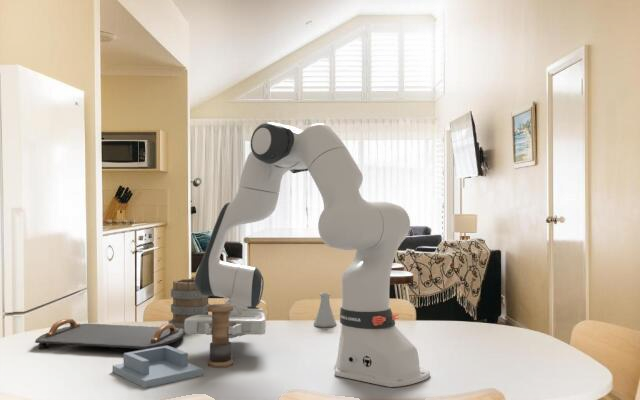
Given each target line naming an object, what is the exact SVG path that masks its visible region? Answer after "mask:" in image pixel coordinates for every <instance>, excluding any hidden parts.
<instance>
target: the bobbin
mask: <svg viewBox="0 0 640 400" xmlns="http://www.w3.org/2000/svg"><path fill="white" fill-rule="evenodd" d="M232 310H233V305H231V304H224V303H213V304H210V305H209V306H208V311H209V312H210V313H211V315H212V335H211V342H210V343H209V359H208V360H207V366H208V367H210V368H215V369H216V368H218V369H219V368H229V367H232V366H233V365H234V358H233V357H232V342H231V341H230V338H229V335H228V332H229V331H228V327H229V311H232ZM209 312H208V313H209Z"/></svg>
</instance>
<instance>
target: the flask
mask: <svg viewBox="0 0 640 400" xmlns="http://www.w3.org/2000/svg"><path fill="white" fill-rule="evenodd" d="M319 296H320V301H319V303H320V304H319V307H318V311H317V313H316V316H315V319H314V322H313V326H315V327H320V328H321V327H322V328H329V327H332V328H333V327H335V326H337V325H338V324H337V322H336V320H335V317H334V314H333V311H332V307H331V303H330V296H331V293H329V292H320V293H319Z"/></svg>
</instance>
